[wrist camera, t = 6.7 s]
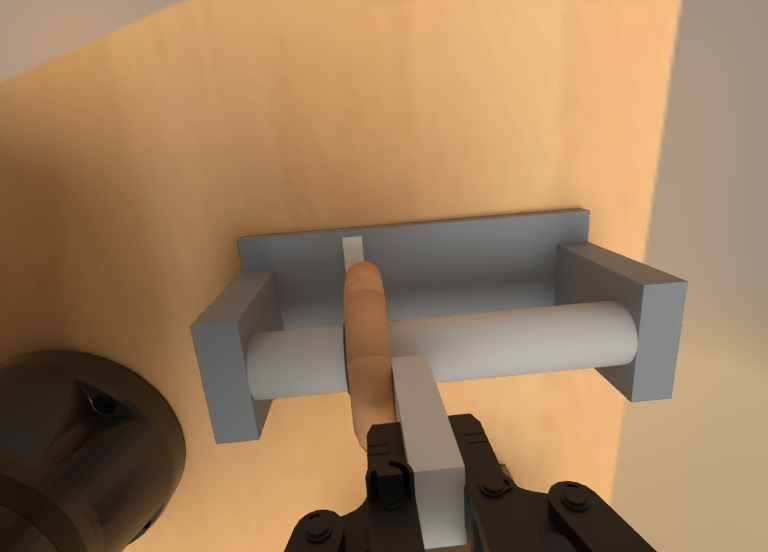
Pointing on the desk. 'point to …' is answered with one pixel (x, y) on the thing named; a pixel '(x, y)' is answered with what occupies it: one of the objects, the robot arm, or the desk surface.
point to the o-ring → (367, 350)
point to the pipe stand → (437, 310)
